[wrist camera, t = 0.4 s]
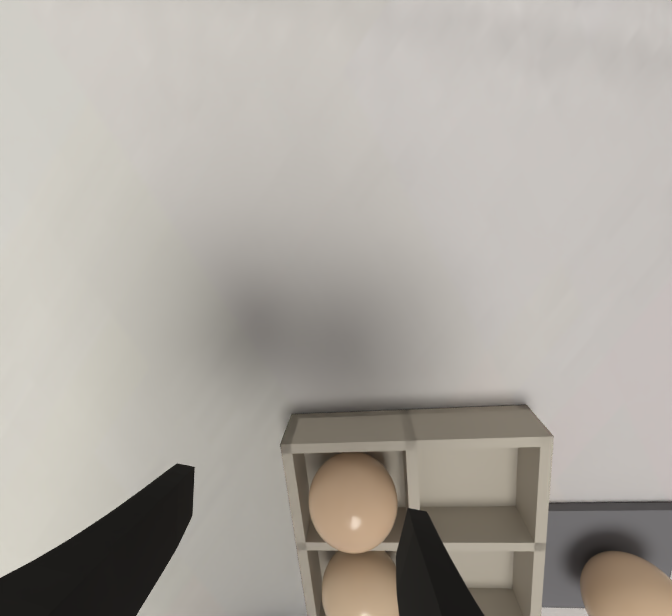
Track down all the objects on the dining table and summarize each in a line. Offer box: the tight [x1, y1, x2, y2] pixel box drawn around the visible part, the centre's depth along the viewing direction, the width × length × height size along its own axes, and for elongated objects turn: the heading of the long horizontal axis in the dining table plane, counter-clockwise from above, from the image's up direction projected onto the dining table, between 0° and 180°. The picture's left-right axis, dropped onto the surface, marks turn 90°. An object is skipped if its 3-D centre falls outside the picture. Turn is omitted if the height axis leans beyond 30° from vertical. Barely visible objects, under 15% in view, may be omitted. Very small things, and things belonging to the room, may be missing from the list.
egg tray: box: [280, 405, 554, 616], centre depth 21 cm, size 14×14×3 cm
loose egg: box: [580, 551, 672, 616], centre depth 19 cm, size 5×5×5 cm
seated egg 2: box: [322, 551, 399, 616], centre depth 21 cm, size 5×5×5 cm
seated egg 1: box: [309, 452, 398, 554], centre depth 19 cm, size 5×5×5 cm
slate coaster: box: [542, 502, 672, 608], centre depth 22 cm, size 8×8×1 cm
